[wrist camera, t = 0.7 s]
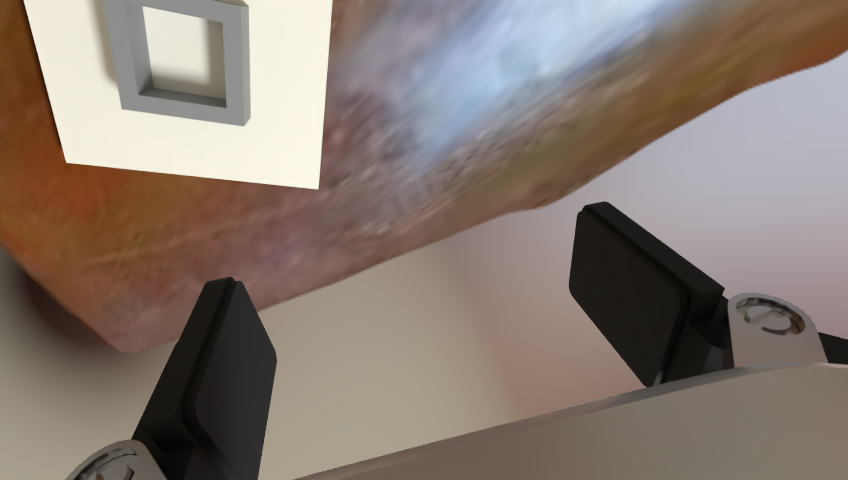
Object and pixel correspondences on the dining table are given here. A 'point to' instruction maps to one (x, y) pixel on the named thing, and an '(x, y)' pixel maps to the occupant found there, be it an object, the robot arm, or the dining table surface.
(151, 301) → the dining table surface
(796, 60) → the dining table surface
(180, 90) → the socket board
